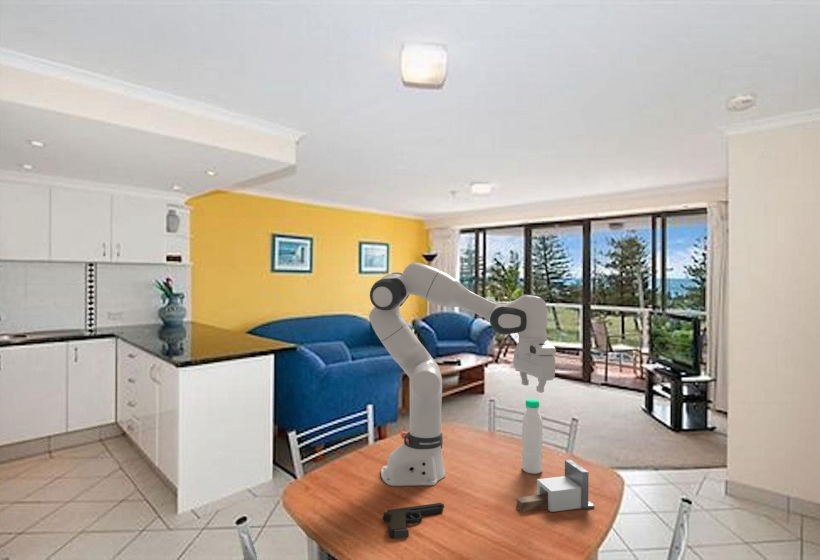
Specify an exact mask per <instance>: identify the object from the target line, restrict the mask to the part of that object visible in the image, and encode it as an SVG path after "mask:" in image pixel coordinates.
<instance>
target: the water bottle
mask: <svg viewBox="0 0 820 560" xmlns="http://www.w3.org/2000/svg"><path fill="white" fill-rule="evenodd" d="M524 404H525V408H526V411H525V412H524V415H523V416H522V417H521V418H522V419H521V422H522V429H521V430H522V431H521V446H522V449H521V469H522V470H523V471H524V472H525V473H527V474H530V475H536V474H537V475H538V474H541V472H543V452H542V451H543V422H544V421H543V419H542V416H541V414H540V412H539V409H540V401H539V400H537V399H533V398H529V399H528V398H527V399H526V400H525V403H524Z"/></svg>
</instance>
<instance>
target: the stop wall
mask: <svg viewBox="0 0 820 560" xmlns="http://www.w3.org/2000/svg"><path fill="white" fill-rule="evenodd" d="M564 476H566V477H568V478H569V479H570V480H572V481H573V482H574V483H576V484H577V485H578V486H580V487H581V508H580V509H581V510H582V511H583V510H588V509H590V510H591V509H594V508H595V504H593V502H591V501H589V471H588V470H587V469H585V468H583V466H581V465H579V464H578V463H576V461H575V462H574V461H573V460H572V459H565V460H564Z"/></svg>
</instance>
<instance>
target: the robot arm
mask: <svg viewBox="0 0 820 560" xmlns="http://www.w3.org/2000/svg"><path fill="white" fill-rule="evenodd" d="M410 295H412V296H417V297H418V298H419V297H420V298H421V299H424V300H425V301H427V302H430V303H432V304H435V305H437V306H441V307H445V308H446V307H447V308H461V309H464V310H467V311H469V312H471V313H473V314H475V315H477V316H479V317H482V318H483V319H486V320H487V321H488V322H489V323H490V324H489V325H490V326H491V328H492V330H493V331H494V332H496V333H497V334H500V335H501V336H504V335H505V336H506V335H507V336H508V335H512V334H518V343H517V344H516V347H515V348H514V352H513V368H514V369H515V370H518V371H519V374H520V379H521V385H523V386H529V385H530V384H529V379H528V375H530V376H532V377H534V378H537V381H538V384H537V385H536V392H537V393H542V394H543V393H544V392H545V386H546V384H547V381H553V380H554V379H555V377H556V358H555V356H554V355H556V353H557V349H556V347H555V346H554V345H552V344H551V343H550V341H549V340H548V333H547V326H548V308H547V303H546V301H545V300H544V299H543V298H542V297H540V296H536V295H531V294H522V295H521V296H519V297H518V298H516V299H514V300H512V301H510V302H497V301H496V302H495V301H492V300H489V299H487V298H485V297H483V296H481V295H479V294H476V293H475V292H473V291H471V290H469V289H468V288H466V286H464V285H463V284H462V283H461V282H459V280H457V279H456V278H454V277H453V276H451V275H450V274H448V273H446V272H444V271H443V270H441V269H437V268H436V267H433V266H431V265H428V264H424V263H421V262H411V263H409V264H408V265H406V267H405V269H404V270H403V272H402V273H401V272H392V273H389V274H387V275H385V276H382V277H381V278H380V279H379V280H377V281H375V282H374V283H373V285H372V286H371V288H370V291H369V299H370V302H371V304H372V305H373V306H374V307H373V308H372V309H371V311H369V315H368V321H369V322H370V325H371V327H372V329H373V331H374V332H375V335H376V336H377V338H378V339H379V341H380V342H381V343H382V345H383V347H384V348H385V350H386V351H387V352H388V353H389V355H390V356H391V358H392V360H393V361H394V362H396V364H397V365H398V366H399V367H400V368H401V370H403V371H404V372H405V374H406V375H407V377H408V378H409V430H408V432H407V433H406V431H401V432H400V433H399V434H400V436H401V438H402V439H403V443H402V444H401V445H400V446H398V447H397V448H396V449H395V450H393V451H391V453H389V457H388V459H387V465H383V466H382V467H381V469H380V476H381V479H382V481H383V482H384V483H385V484H387V485H388V486H392V487H404V486H434V485H436V484H437V483H438V481H440V480H442V479H443V478H444V477H445V476H446V470H445V466H444V459H443V451H442V449H443V444H444V442H443V440H444V439H443V432H442V403H443V402H442V399H443V376H442V373H441V369H440V366H439V364H438V363H437V362H436V361H435V359H434V358H433V356H431V354H430V353H429V351H428V350H427V349H426V347H425V346H424V345H423V344H422V343H421V341H420V340H419V339H418V337H417V336H416V333H414V332H413V330H412V328H411V327H410V326H409V324H408V323H407V322H406V320H405V318H404V317H403V316H402V314H401V312H400V307H402V306H403V304H404V303H405V302H406V300H407V299H408V298H409V297H410Z"/></svg>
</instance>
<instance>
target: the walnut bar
mask: <svg viewBox="0 0 820 560" xmlns="http://www.w3.org/2000/svg"><path fill="white" fill-rule="evenodd" d="M515 505H516V508H517V509H518V510H519V511H520V512H521V513H524V512H532V511H537V510H538V511H539V510H543V509H548V494H541V495H537V494H535V495H534V494H533V495H529V496H528V495H526V496H520V497H516V504H515Z"/></svg>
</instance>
